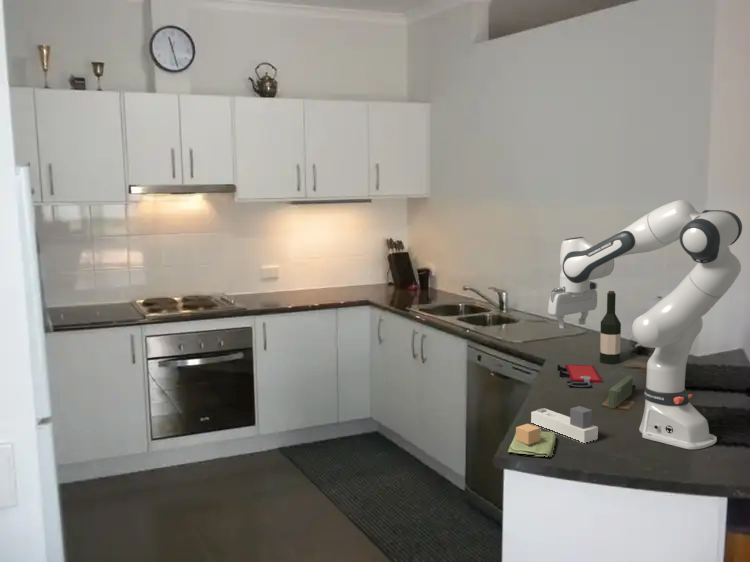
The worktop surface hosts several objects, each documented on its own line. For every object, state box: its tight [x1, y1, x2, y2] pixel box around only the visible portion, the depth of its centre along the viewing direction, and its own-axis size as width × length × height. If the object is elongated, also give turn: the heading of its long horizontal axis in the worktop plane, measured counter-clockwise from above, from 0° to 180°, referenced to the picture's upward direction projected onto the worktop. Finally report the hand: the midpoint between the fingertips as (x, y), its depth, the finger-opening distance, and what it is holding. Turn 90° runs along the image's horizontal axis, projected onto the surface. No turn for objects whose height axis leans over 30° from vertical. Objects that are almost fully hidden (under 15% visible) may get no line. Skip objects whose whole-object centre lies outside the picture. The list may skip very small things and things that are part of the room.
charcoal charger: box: [569, 405, 593, 429], centre depth 228 cm, size 5×4×7 cm
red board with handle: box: [556, 364, 603, 388], centre depth 293 cm, size 30×3×15 cm
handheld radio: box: [607, 374, 637, 409], centre depth 266 cm, size 7×3×25 cm
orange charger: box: [515, 423, 543, 445], centre depth 222 cm, size 5×4×7 cm
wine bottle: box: [599, 290, 622, 365], centre depth 311 cm, size 8×8×30 cm
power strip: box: [530, 407, 599, 444], centre depth 235 cm, size 22×6×5 cm, turn 33°
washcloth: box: [507, 430, 557, 458], centre depth 223 cm, size 13×18×3 cm
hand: (572, 326), depth 251 cm, fingers open, 8 cm apart
